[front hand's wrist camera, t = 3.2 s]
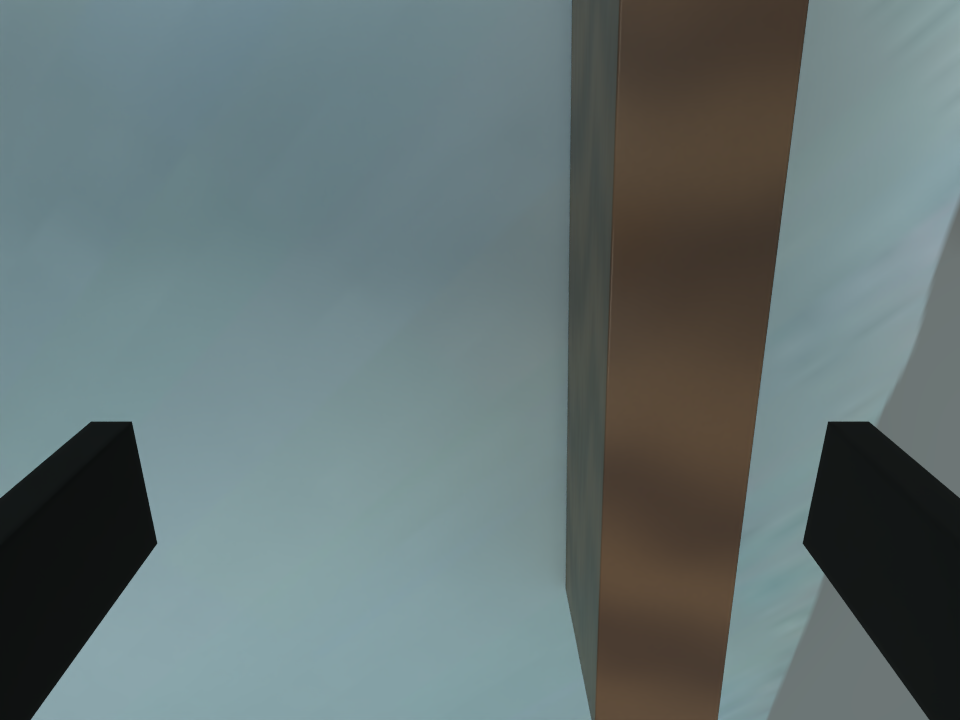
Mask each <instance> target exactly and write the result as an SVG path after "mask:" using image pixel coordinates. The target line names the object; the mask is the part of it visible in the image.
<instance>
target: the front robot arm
mask: <svg viewBox="0 0 960 720" xmlns="http://www.w3.org/2000/svg"><path fill="white" fill-rule="evenodd" d="M156 544H157V540H156V535H155V530H154V525H153V521H152V516H151V511H150V506H149V502H148V497H147V492H146V487H145V482H144V478H143V473H142V468H141V463H140V459H139V454H138V449H137V444H136V439H135V435H134V430H133V425H132V422H90V423H89V424H88V425H87V426H85V427H84V428H83V429H82V430H81V431H79V432H78V433H77V434H76V435H75V436H74V437H72V438H71V439H70V440H69V441H68V442H66V443H65V444H64V445H63V446H62V447H61V448H59V449H58V450H57V451H56V452H55V453H53V454H52V455H51V456H50V457H49V458H47V459H46V460H45V461H44V462H43V463H42V464H40V465H39V466H38V467H37V468H36V469H34V470H33V471H32V472H31V473H30V474H28V475H27V476H26V477H25V478H24V479H23V480H21V481H20V482H19V483H18V484H17V485H15V486H14V487H13V488H12V489H11V490H9V491H8V492H7V493H6V494H5V495H4V496H2V497H1V498H0V720H31V718H32V717H33V716H34V714H35V713H36V712H37V710H38V709H39V707H40V706H41V705H42V703H43V702H44V700H45V699H46V698H47V696H48V695H49V693H50V692H51V691H52V689H53V688H54V686H55V685H56V684H57V682H58V681H59V679H60V678H61V677H62V675H63V674H64V673H65V671H66V670H67V668H68V667H69V666H70V664H71V663H72V661H73V660H74V659H75V657H76V656H77V654H78V653H79V652H80V650H81V649H82V647H83V646H84V645H85V643H86V642H87V640H88V639H89V638H90V636H91V635H92V634H93V632H94V631H95V629H96V628H97V627H98V625H99V624H100V622H101V621H102V620H103V618H104V617H105V615H106V614H107V613H108V611H109V610H110V608H111V607H112V606H113V604H114V603H115V602H116V600H117V599H118V597H119V596H120V595H121V593H122V592H123V590H124V589H125V588H126V586H127V585H128V583H129V582H130V581H131V579H132V578H133V576H134V575H135V574H136V572H137V571H138V569H139V568H140V567H141V565H142V564H143V563H144V561H145V560H146V558H147V557H148V556H149V554H150V553H151V551H152V550H153V549H154V547H155V546H156ZM803 544H804V546H805V547H806V549H807V550H808V551H809V553H810V554H811V556H812V557H813V558H814V560H815V561H816V563H817V564H818V565H819V567H820V568H821V569H822V571H823V572H824V574H825V575H826V576H827V578H828V579H829V581H830V582H831V583H832V585H833V586H834V588H835V589H836V590H837V592H838V593H839V595H840V596H841V597H842V599H843V600H844V601H845V603H846V604H847V606H848V607H849V608H850V610H851V611H852V613H853V614H854V615H855V617H856V618H857V620H858V621H859V622H860V624H861V625H862V627H863V628H864V629H865V631H866V632H867V634H868V635H869V636H870V638H871V639H872V640H873V642H874V643H875V645H876V646H877V647H878V649H879V650H880V652H881V653H882V654H883V656H884V657H885V658H886V660H887V661H888V663H889V664H890V666H891V667H892V668H893V670H894V671H895V672H896V674H897V675H898V677H899V678H900V679H901V681H902V682H903V684H904V685H905V686H906V688H907V689H908V691H909V692H910V693H911V695H912V696H913V698H914V699H915V700H916V702H917V703H918V705H919V706H920V707H921V709H922V710H923V712H924V713H925V714H926V716H927V717H928V718H929V720H960V498H959V497H958V496H956V495H955V494H954V493H953V492H952V491H951V490H949V489H948V488H947V487H946V486H945V485H943V484H942V483H941V482H940V481H939V480H937V479H936V478H935V477H934V476H933V475H931V474H930V473H929V472H928V471H927V470H926V469H924V468H923V467H922V466H921V465H920V464H918V463H917V462H916V461H915V460H914V459H913V458H911V457H910V456H909V455H908V454H907V453H905V452H904V451H903V450H902V449H901V448H899V447H898V446H897V445H896V444H895V443H894V442H892V441H891V440H890V439H889V438H888V437H886V436H885V435H884V434H883V433H882V432H880V431H879V430H878V429H877V428H876V427H875V426H873V425H872V424H871V423H870V422H828V425H827V430H826V435H825V439H824V444H823V449H822V454H821V459H820V463H819V468H818V473H817V478H816V482H815V487H814V492H813V497H812V502H811V506H810V511H809V516H808V521H807V525H806V530H805V535H804V540H803Z"/></svg>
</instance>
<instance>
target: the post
mask: <svg viewBox="0 0 960 720" xmlns="http://www.w3.org/2000/svg"><path fill="white" fill-rule="evenodd" d="M808 3H809V0H572V60H571V152H570V244H569V335H568V427H567V519H566V593H567V598H568V603H569V608H570V613H571V618H572V623H573V628H574V633H575V638H576V643H577V648H578V653H579V658H580V664H581V669H582V674H583V679H584V684H585V689H586V694H587V699H588V704H589V709H590V714H591V719H592V720H718V713H719V705H720V697H721V689H722V681H723V673H724V665H725V657H726V650H727V642H728V634H729V626H730V618H731V610H732V602H733V594H734V586H735V579H736V571H737V563H738V555H739V547H740V539H741V531H742V523H743V516H744V508H745V500H746V492H747V484H748V476H749V468H750V460H751V452H752V445H753V437H754V429H755V421H756V413H757V405H758V397H759V389H760V382H761V374H762V366H763V358H764V350H765V342H766V334H767V326H768V318H769V311H770V303H771V295H772V287H773V279H774V271H775V263H776V255H777V248H778V240H779V232H780V224H781V216H782V208H783V200H784V192H785V184H786V177H787V169H788V161H789V153H790V145H791V137H792V129H793V121H794V114H795V106H796V98H797V90H798V82H799V74H800V66H801V58H802V50H803V43H804V35H805V27H806V19H807V11H808Z"/></svg>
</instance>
